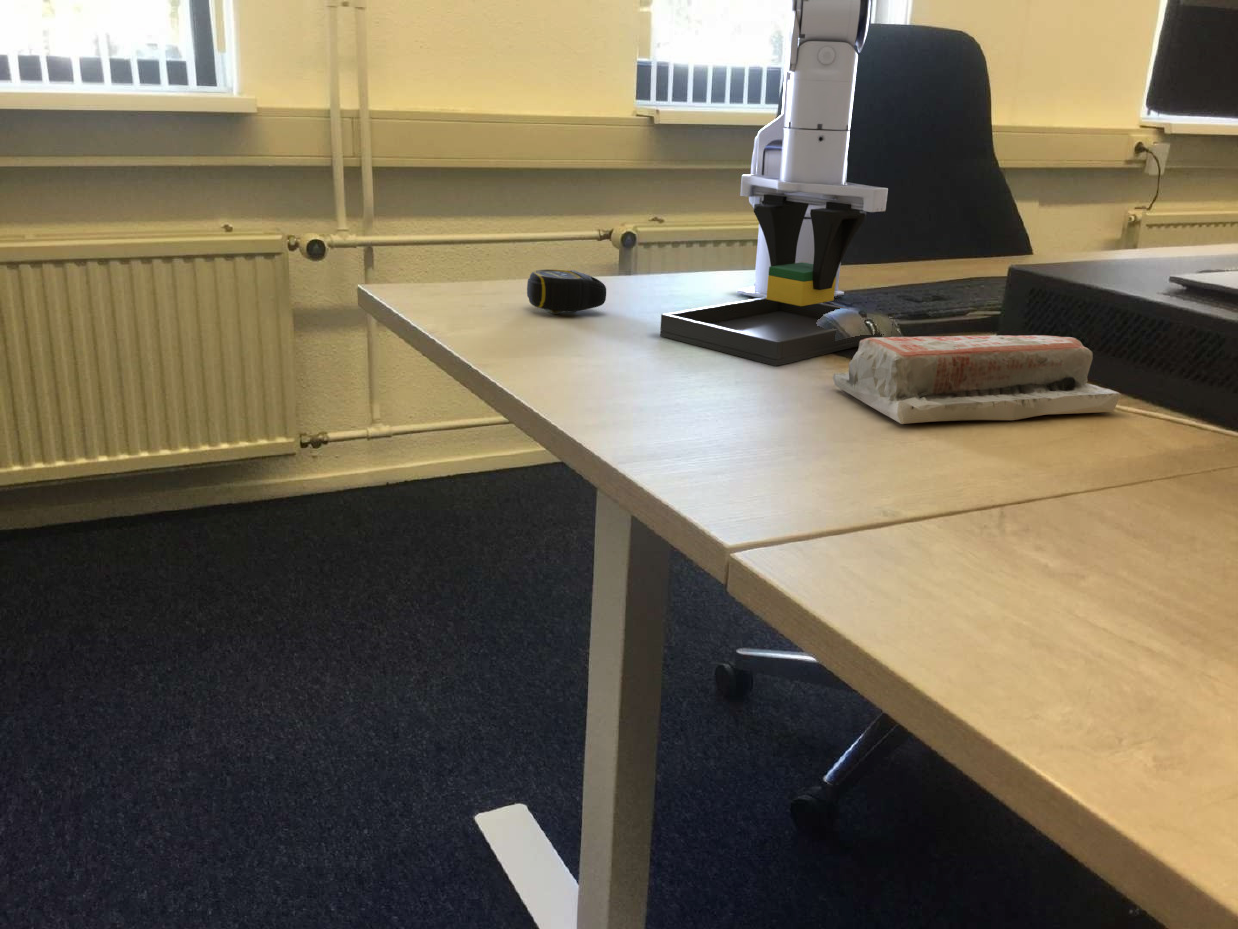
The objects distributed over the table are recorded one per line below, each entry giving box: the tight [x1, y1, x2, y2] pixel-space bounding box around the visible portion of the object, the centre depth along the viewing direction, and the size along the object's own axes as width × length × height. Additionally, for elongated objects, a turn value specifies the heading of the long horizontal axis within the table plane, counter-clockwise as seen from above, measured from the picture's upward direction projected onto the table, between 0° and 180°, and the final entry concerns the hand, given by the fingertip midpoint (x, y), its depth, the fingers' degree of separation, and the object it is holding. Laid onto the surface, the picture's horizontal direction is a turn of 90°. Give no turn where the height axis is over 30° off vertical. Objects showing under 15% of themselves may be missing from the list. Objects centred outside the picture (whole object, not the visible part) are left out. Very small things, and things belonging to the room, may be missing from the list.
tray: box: [659, 297, 894, 367], centre depth 95 cm, size 17×13×2 cm
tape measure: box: [526, 268, 607, 315], centre depth 102 cm, size 7×7×4 cm
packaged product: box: [832, 334, 1122, 425], centre depth 76 cm, size 18×5×10 cm
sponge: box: [766, 262, 837, 306], centre depth 95 cm, size 5×4×3 cm
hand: (801, 284), depth 95 cm, fingers closed on sponge, 4 cm apart
